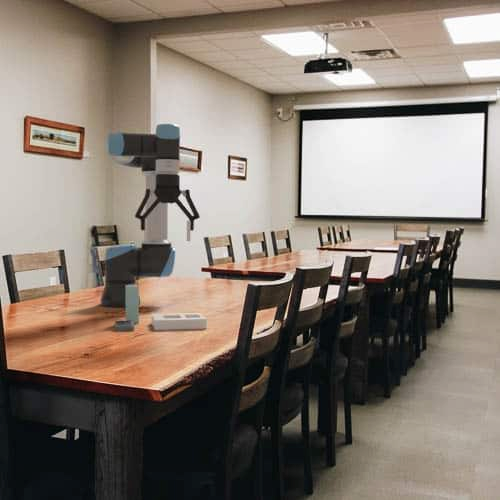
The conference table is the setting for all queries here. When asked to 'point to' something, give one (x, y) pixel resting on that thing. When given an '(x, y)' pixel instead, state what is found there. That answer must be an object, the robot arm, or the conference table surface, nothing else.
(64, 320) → the conference table surface
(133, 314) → the pale green block
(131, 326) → the phone
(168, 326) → the outlet board
